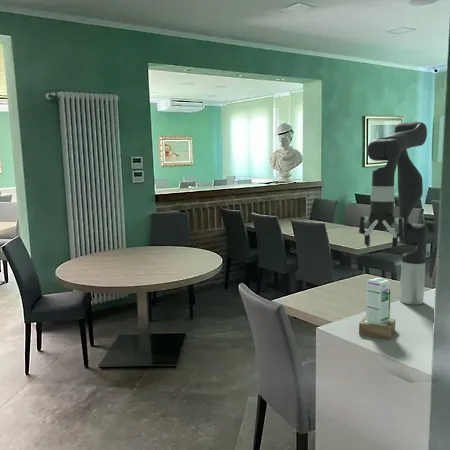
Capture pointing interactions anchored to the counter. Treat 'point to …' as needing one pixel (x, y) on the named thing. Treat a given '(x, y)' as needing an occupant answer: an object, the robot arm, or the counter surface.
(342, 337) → the counter surface
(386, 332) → the plinth
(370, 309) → the syrup box
